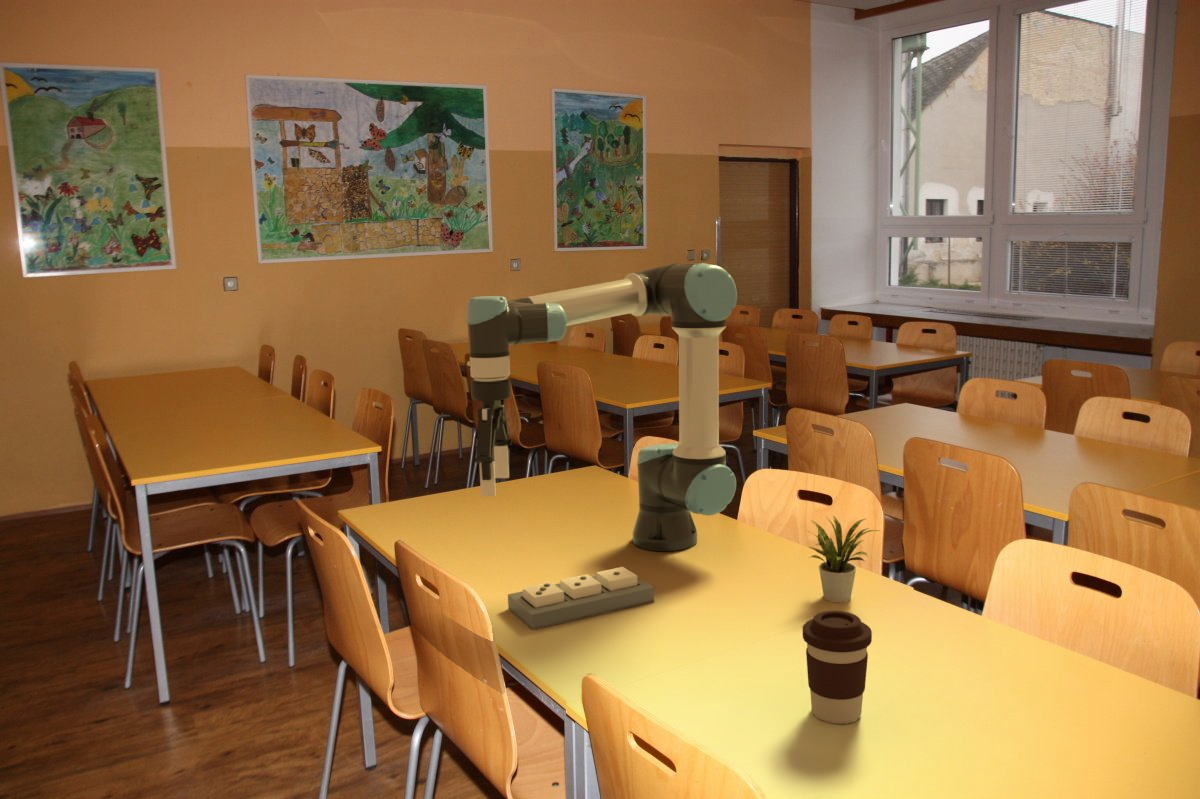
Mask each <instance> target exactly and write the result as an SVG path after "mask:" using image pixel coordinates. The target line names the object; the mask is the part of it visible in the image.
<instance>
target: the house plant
mask: <svg viewBox="0 0 1200 799" xmlns="http://www.w3.org/2000/svg"><path fill="white" fill-rule="evenodd" d="M825 518H826V519H827V521H828V522H829V523H830V524H831V526H832V530H833V532H834V536H835V540H836V546H835V544H834V541H833V539H832V537H829V536H828V533H827V532H826V531H825V529H824V528H823V527H822V526H821V525H819V524H818V523H817V522H815V521H813V520H811V522H812V523H813V524H814V525H815V527H816V528H817V532H818V533H817V535H816V534H815V533H813V532H811V531H809V530H807V532H808V533H810V534H813V535H814V536H815V537H816V538H817V541H818V543H816V544H815V546H817V545H818V546H820V547H821V549H819V548H816V547H813V546H812V547H811V546H808V548H809V549H811V550H814V551H815V552H817V553H818V554H820V555H822V556H823V557H825V560H826V561H825V560H824V559H823V558H822V557H820V556H819V555H811V556H810V557H808V559H810V558H814V559H819V560H821V561H822V563H820V564H819V566H818V569H819V575H820V576H819V577H820V583H821V587H822V588H821V589H822V595H823V599H824V600H826V601H829V602H832V603H846V602H849V601H850V600H851V599H852V594H853V588H854V582H855V576H856V571H857V567H856V565H855V564H853V563H850V561H864V562H865V560H864V559H863V558H862V557H859V556H856V555H864V556H866V557H867V558H868V557H869V556H868V553H867V552H866V551H859V552H858V551H857V552H856V553H854V551H855V549H856V548H857V546H859V545H860V544H861V543H862V542H864V541H865V540H864V539H862V540H858V539H860V538H861V537H862V536H863V535H865V534H867V533H871V532H880V530H877V529H870V528H868V527H867V528H863V529H861V530H860V531H858V532H856V533H854V532H855V531H856V529H857V528H858V527H859V525H861V523H863V522H864V521H866V520H867V518H862V519H860V520H857V521H856V522H855V523H854V524H852V525H851V527H850V528H849V530H848V531H847V533H846V536H845V538H844V541H843V531H842V526H841V525H842V524H841V523H840V521H839V520H838V519H837V517H836V516H834V515H833V522H834V524H833V522H832V521H831V520H830V519H829V518H828V517H827V516H825ZM869 529H870V530H869ZM853 553H854V554H853ZM852 554H853V555H852Z"/></svg>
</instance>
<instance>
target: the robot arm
mask: <svg viewBox="0 0 1200 799" xmlns="http://www.w3.org/2000/svg"><path fill="white" fill-rule="evenodd" d="M737 300H738V291H737V287H736V283H735V280H734V278H733V277H732V276H731V274H730V273H729V272H728V270H726V269H724V268H723V267H721V266H719V265H716V264H710V263H703V262H702V263H679V262H676V263H674V262H673V263H668V264H663V265H660V266H655V267H653V268H648V269H644V270H640V271H637V272H630V273H628V274H626V275H625V277H624V278H623V279H617V280H612V281H607V282H602V283H601V282H600V283H595V284H591V285H586V286H581V287H574V288H568V289H564V290H559V291H554V292H553V291H552V292H548V293H541V294H537V295H536V294H535V295H531V296H526V297H521V298H515V299H510V300H508V299H507V298H506V297H505V296H501V295H489V296H487V295H485V296H474V297H471V298H470V299H469V300H468V301H467V309H466V313H467V314H466V316H467V317H466V324H467V332H468V347H469V348H468V349H469V350H468V351H469V360H468V361H467V362H466V366H468V367H470V368H469V369H470V370H469V371H470V377H471V378H473V379H472V380H471V381H470V391H471V392H470V394H471V399H472V400H474V401H479V402H480V401H481V403H482V408H478V410H477V415H478V416H477V420H478V422H477V440H476V442H477V443H476V455H475V456H476V457H475V458H474V463H475V464H479V467H478V469H479V484H480V497H496V496H497V491H496V479H509V478H510V467H509V446H511V445H512V439H511V437H510V436H511V435H510V432H509V425H508V419H507V412H506V406H505V405H506V404H505V403H506V400H507V399H509V398H511V395H512V387H511V379H510V378H509V376H510V375H511V360H510V346H516V345H522V344H523V345H524V344H525V345H527V344H539V343H547V344H549V342H557V341H560V340H562V339H563V338H564V336H565V334H566V332H567V326H573V325H577V324H583V323H588V322H593V321H594V322H595V321H598V320H603V319H607V318H613V317H618V316H622V315H628V314H631V315H632V316H634V317H641V316H647V315H650V316H651V315H655V316H657V315H659V316H660V315H661V316H668V317H671V329H672V330H673V331H674V332H675V333H676V334H677V335H678V421H679V422H678V424H679V425H678V427H679V429H678V433H679V434H678V435H679V436H678V438H679V439H678V440H679V442H678V443H675V442H674V443H673V442H672V443H661V444H655V445H652V444H651V445H648V446H645V447H642V448H640V450H639V451H638V453H637V463H636V465H637V475H638V476H637V477H638V479H637V480H638V503H639V504H638V506H639V509H638V513H637V516H636V520H635V524H634V526H633V530H632V543H633V545H634V546H636V547H638V548H640V549H642V550H647V551H653V552H672V551H673V552H675V551H681V550H685V549H689V548H691V547H693V546H694V545H696V544H697V543H698V531H697V530H698V529H697V528H696V525H695V522H694V519H693V516H692V514H696V515H702V516H706V517H707V516H714V515H718V514H719V513H721V512H723V511H724V510H725V509H726V508H727V506H728V505H729V504H730V503H731V502H732V501H733V498H734V496H735V493H736V490H737V479H736V476H735V473H734V472H733V471H732V470H731V468H730V467H728V466H727V464H726V463H727V462H726V460H727V459H726V457H727V455H726V450H725V448H723V447H722V446H721V445H720V444H719V442H720V437H719V436H720V431H719V430H720V421H719V420H720V419H719V418H720V416H719V414H720V410H719V408H720V407H719V406H720V404H719V403H720V391H719V389H720V386H719V382H720V375H719V374H720V372H719V371H720V368H719V367H720V358H719V357H720V345H719V344H720V341H719V340H720V335H721V333H722V332H723V331H724V330H725V329H726V328H727V318H728V317H729V316H730V315H731V314H732V313H733V310H734V309H735V308H736V306H737ZM691 513H692V514H691Z"/></svg>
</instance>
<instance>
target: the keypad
mask: <svg viewBox="0 0 1200 799" xmlns="http://www.w3.org/2000/svg"><path fill="white" fill-rule="evenodd" d="M591 577H592V578H594V579H595V580H597V575H592V576H591ZM553 584H554V583H553ZM554 585H556V586H557V587H558V588H560V589H561V587H560V582H559V583H556V584H554ZM654 587H655V586H654ZM654 587H653V586H652V585H651V584H649V583H648V582H646V581H644V580H642V579H641V578H639V577H638V576H637V585H636V586H631V587H627V588H622V589H618V590H613V591H610V590H608V589H607V588H605V587H604V586H602V585H601V593H600V594H595V595H591V596H586V597H582V598H577V599H573V598H571V597H570V596H569V595H567V594H566V593H565V592H564V602H559V603H555V604H550V605H546V606H541V607H537V608H535V607H534V606H533V605H531V604H530V603H529V602H528V601H527V600H525V599H524V598H523V590H522V591H517V592H512V593H508V594H507V602H508V604H507V606H508V608H507V609H508V610H509V611H510V612H511V613H512V614H514V615H515V616H516V617H517V618H518V619H519V620H521V621H522V622H523V623H524V624H525V625H526V626H527V627H528V628H530V630H531V631H535V630H539V629H543V628H548V627H552V626H556V625H561V624H565V623H569V622H573V621H577V620H582V619H586V618H590V617H595V616H599V615H604V614H607V613H608V614H609V613H612V612H616V611H620V610H621V611H622V610H625V609H629V608H634V607H637V606H641V605H646V604H651V603H654V602H655V593H654V592H655V588H654Z"/></svg>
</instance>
